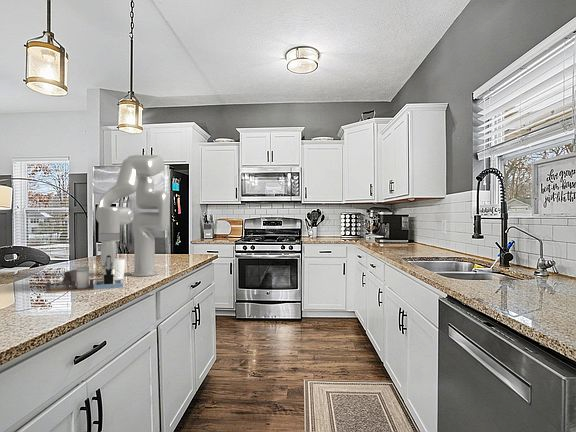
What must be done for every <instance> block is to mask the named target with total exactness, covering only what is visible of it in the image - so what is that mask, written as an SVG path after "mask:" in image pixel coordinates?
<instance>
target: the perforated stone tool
mask: <svg viewBox="0 0 576 432" xmlns="http://www.w3.org/2000/svg"><path fill="white" fill-rule="evenodd" d="M63 274H64V275H63V279H62V283H63V285H65V282H66V281H69V286H72V280H75V285H77V271H76V269H72V270H67V271H64V272H63Z"/></svg>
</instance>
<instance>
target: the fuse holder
mask: <svg viewBox="0 0 576 432" xmlns="http://www.w3.org/2000/svg"><path fill="white" fill-rule="evenodd" d="M89 279H90V278H89ZM64 285H65V286H63V287H62V286H60V287H51V281H47V282H46V283H45V292H44V294H54V293H66V292H67V293H68V292H79V291H80V292H81V291H91V290H92V291H93V289H94V279H92V278H91V279H90V280H89V288H86V289H76V284H75V280H72V285H71V286H70V285H69V281H66V282H65V284H64Z"/></svg>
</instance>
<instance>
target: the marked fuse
mask: <svg viewBox="0 0 576 432" xmlns="http://www.w3.org/2000/svg"><path fill="white" fill-rule="evenodd" d="M110 266H112V265H110ZM106 267H107V265H106ZM102 271H103V273H102V277H103V278H102V281H103V285H104V275H105V265H104V266H103V267H102ZM113 284H115V266H113Z"/></svg>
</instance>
